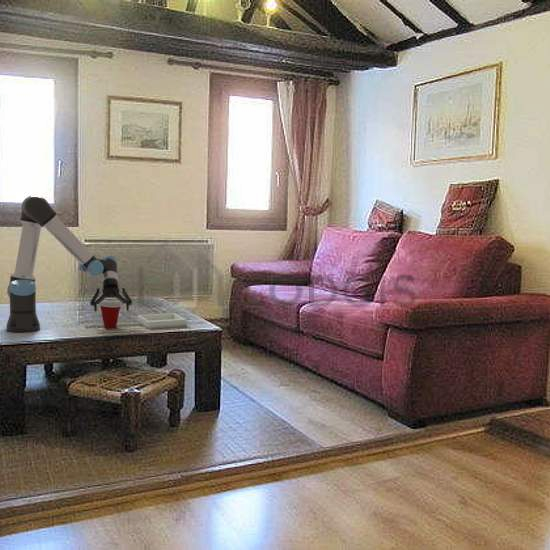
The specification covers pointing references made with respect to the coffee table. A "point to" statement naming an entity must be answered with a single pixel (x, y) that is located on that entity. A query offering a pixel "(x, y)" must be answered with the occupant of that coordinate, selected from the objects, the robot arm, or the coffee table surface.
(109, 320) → the plastic cup
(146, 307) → the coffee table surface
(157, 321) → the tray
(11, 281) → the robot arm
